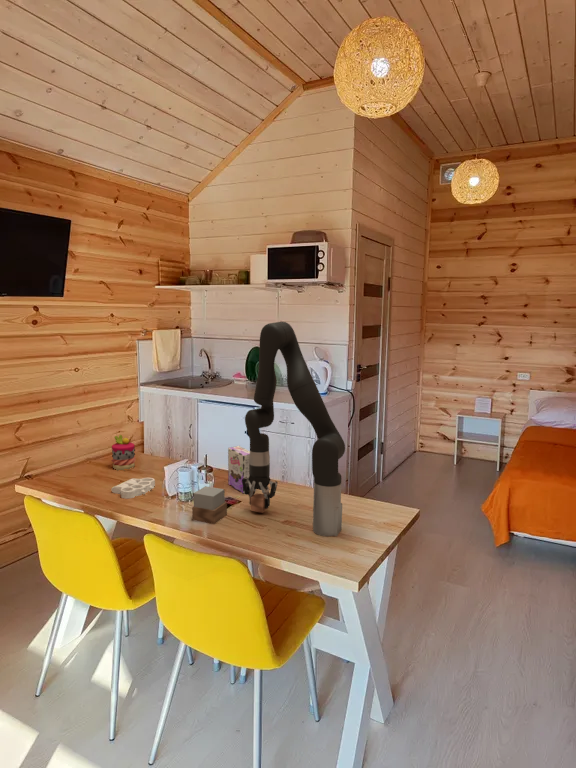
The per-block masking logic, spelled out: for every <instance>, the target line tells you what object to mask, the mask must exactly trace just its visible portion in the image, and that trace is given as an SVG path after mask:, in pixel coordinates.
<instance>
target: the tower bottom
mask: <svg viewBox="0 0 576 768" xmlns="http://www.w3.org/2000/svg"><path fill="white" fill-rule="evenodd" d="M191 508H192V509H191V510H192V513H191V514H192V515H191V516H192V518H191V519H192V521H196V522H201V523H202V522H203V523H207V524H211V525H212V524H213V525H215V524H217V523H218V522H219V521H221V520H222V519H224V518H225V517H226V516H227V515H228V502H226V501H225V503H223V504H222V505H220V506H219V507H217V508H216V509H214V510H209V509H204V508H198V507H194V505H193V506H192V507H191ZM224 516H225V517H224ZM220 519H221V520H220ZM216 522H217V523H216Z"/></svg>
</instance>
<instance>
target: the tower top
mask: <svg viewBox="0 0 576 768" xmlns="http://www.w3.org/2000/svg"><path fill="white" fill-rule="evenodd" d="M225 491H226V490H225V489H223V488H220V487H219V488H218V487H211V486H205V485H204V486H203V487H201V488H200V489H198V490H196V491H195V492H193V506H194V507H198V508H204V509H209V510H214V509H216V508H217V507H219V506H220V505H222V504H223V503H225V502H226V501H225V499H226V498H225Z"/></svg>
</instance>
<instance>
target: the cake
mask: <svg viewBox="0 0 576 768" xmlns="http://www.w3.org/2000/svg"><path fill="white" fill-rule="evenodd" d="M114 440H115V443H113V444H112V445H111V450H112V451H111V453H112V455H111V457H112V459H111V460H110V461H111V462H112V469H113V468H114V469H116V470H115V471H119V470H123V471H125V470H124V469H130V468H132V467H134V466H135V463H136V460H137V458H136V456H135V455H136V453H135V452H136V448H135V447H136V446H135V443H133V442H130V439H129V438H127V437H124V438H123V435H122V434H120V435H118V436H117V435H115V436H114ZM135 467H136V466H135ZM135 467H134V468H135ZM114 469H113V470H114ZM130 470H131V469H130Z"/></svg>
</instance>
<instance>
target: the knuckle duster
mask: <svg viewBox="0 0 576 768" xmlns="http://www.w3.org/2000/svg"><path fill="white" fill-rule="evenodd" d="M154 486H155V487H156V480H155V478H153V477H143V478H130V479H128V480H126V481H124V482H122V483H120V484H117V485H114V486H113V487H111V490H110V491H111V492H112V493H113V494H118V495H120V498H121V499H133V498H136V497H137V496H138V497H140V496H143V495H145V494H146V493H149V492H151V491H152V490H153V489H155V487H154ZM151 489H152V490H151ZM150 490H151V491H150ZM148 491H149V492H148ZM142 494H143V495H142ZM135 496H136V497H135Z"/></svg>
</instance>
